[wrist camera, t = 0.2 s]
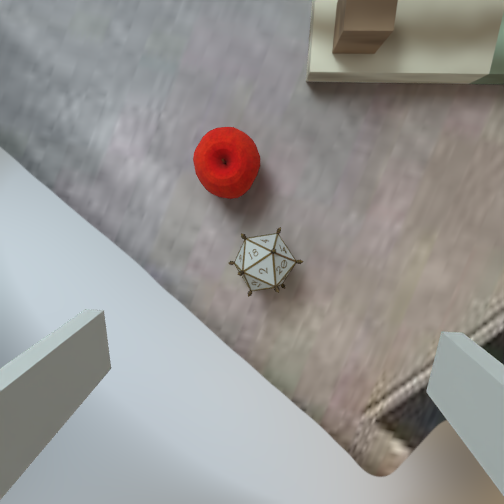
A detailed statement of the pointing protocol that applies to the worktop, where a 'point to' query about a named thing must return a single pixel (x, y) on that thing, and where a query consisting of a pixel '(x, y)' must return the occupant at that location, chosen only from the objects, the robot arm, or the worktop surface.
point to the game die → (264, 262)
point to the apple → (226, 162)
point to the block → (363, 25)
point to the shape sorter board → (417, 45)
